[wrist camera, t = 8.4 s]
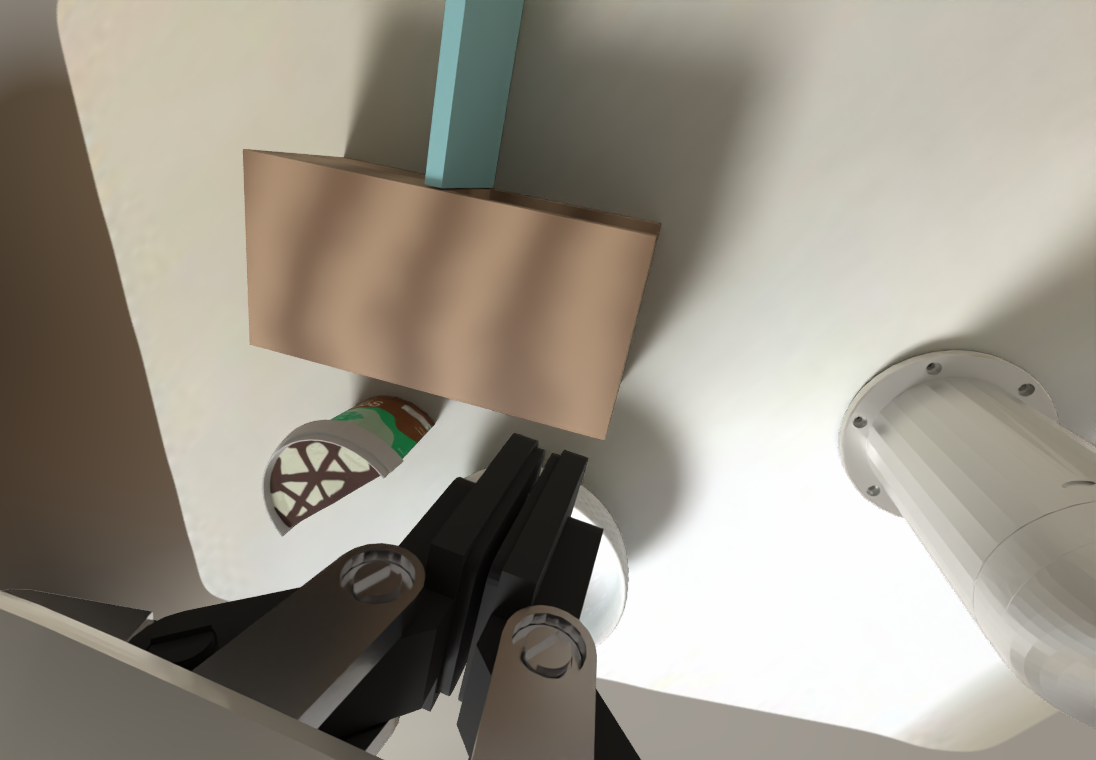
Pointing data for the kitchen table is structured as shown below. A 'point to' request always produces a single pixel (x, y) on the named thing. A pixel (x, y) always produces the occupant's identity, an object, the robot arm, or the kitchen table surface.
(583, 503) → the cereal bowl
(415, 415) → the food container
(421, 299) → the cabinet
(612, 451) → the kitchen table surface
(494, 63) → the door
